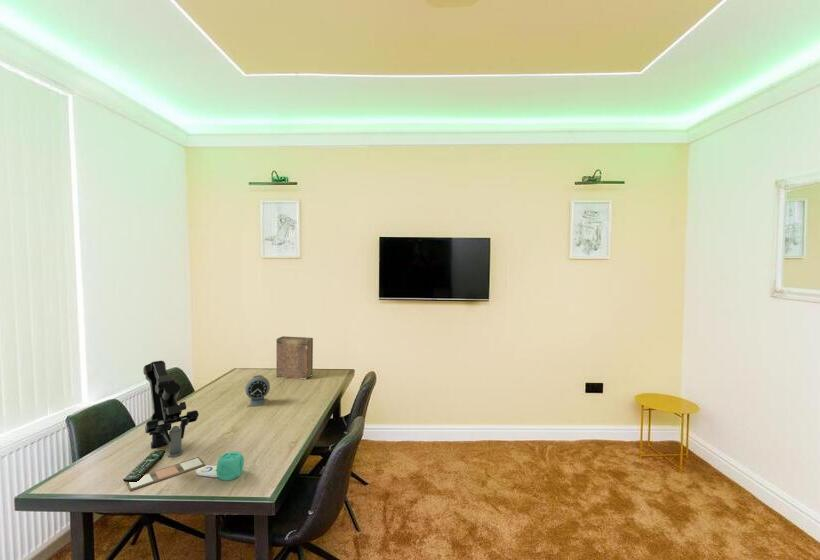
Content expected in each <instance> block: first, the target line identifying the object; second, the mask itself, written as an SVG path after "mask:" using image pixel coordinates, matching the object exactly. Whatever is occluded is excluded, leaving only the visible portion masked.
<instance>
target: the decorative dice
mask: <svg viewBox="0 0 820 560" xmlns="http://www.w3.org/2000/svg"><path fill="white" fill-rule="evenodd" d="M244 464H245V458H244V456H243V454H242V453H241V452H239V451H228V452H225V453H224V454H222V455H220V456H219V458H218V461H217V464H216V473H215V474H216V476H217V478H219V479H220V480H222V481H225V482H227V481H232V480H235V479H237V478H238V477H240V476H241V474H242V473H243V468H244Z"/></svg>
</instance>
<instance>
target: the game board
mask: <svg viewBox="0 0 820 560" xmlns="http://www.w3.org/2000/svg"><path fill="white" fill-rule="evenodd" d="M204 466H206V464H205V463H204V461H203V460H202V459H201V458H200V457H199V456H196V457H193V458H190V459H187V460H185V461H181V462H178V463H175V464H172V465H169V466H166V467H163V468H159V469H157V470H152V471H150V472H148V473H145V475H144V474H143V475H144V476H143V477H142V478H141V479H140V480H139V481H137V482H129V483H128V482H126V481H125V484H126V483H127V484H126V485H127V487H128V491H129V492H132V491H135V490H138V489H140V488H143V486H144V487H147V486H149V484H150V485H153V484H155V482H156V483H158V481H159V482H161V480H162V481H164V480H167V479H169V477H170V478H173V477H177V476H178V475H182V474H185V473H188V472H191V471H193V470H196V468H197V469H200V468H201V467H204ZM152 483H153V484H152ZM146 485H147V486H146ZM137 488H138V489H137ZM131 490H132V491H131Z"/></svg>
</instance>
